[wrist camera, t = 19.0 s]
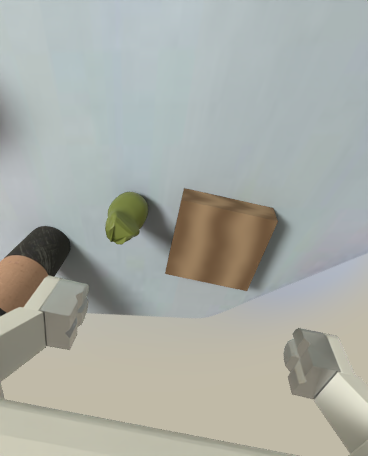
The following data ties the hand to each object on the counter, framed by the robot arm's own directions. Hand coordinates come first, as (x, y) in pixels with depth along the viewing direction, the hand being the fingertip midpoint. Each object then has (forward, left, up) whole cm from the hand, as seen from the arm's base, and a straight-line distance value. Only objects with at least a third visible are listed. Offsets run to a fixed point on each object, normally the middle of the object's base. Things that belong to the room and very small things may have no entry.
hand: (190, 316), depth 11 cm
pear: (+8, +14, -33) cm, 37 cm away
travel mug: (+22, +26, -33) cm, 48 cm away
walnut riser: (-6, +17, -33) cm, 38 cm away
